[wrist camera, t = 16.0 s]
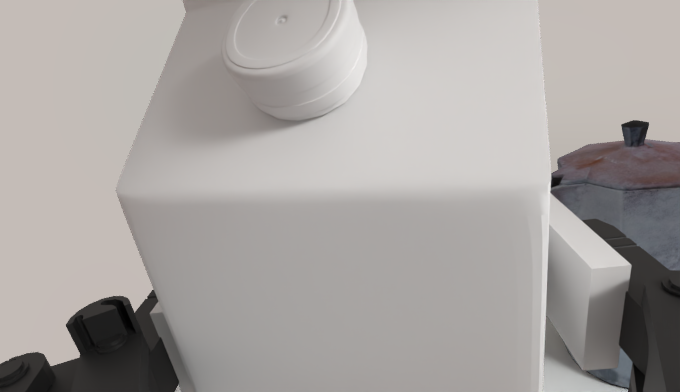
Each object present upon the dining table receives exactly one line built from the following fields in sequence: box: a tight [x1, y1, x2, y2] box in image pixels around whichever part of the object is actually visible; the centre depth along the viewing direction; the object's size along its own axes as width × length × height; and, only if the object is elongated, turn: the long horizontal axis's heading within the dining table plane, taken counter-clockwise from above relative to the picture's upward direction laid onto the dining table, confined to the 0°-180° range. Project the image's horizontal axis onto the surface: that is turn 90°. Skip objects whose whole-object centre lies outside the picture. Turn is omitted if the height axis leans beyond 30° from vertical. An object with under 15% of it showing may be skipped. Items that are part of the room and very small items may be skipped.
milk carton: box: [116, 0, 551, 392], centre depth 11 cm, size 7×7×19 cm
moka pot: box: [550, 120, 680, 388], centre depth 31 cm, size 10×15×20 cm, turn 101°
